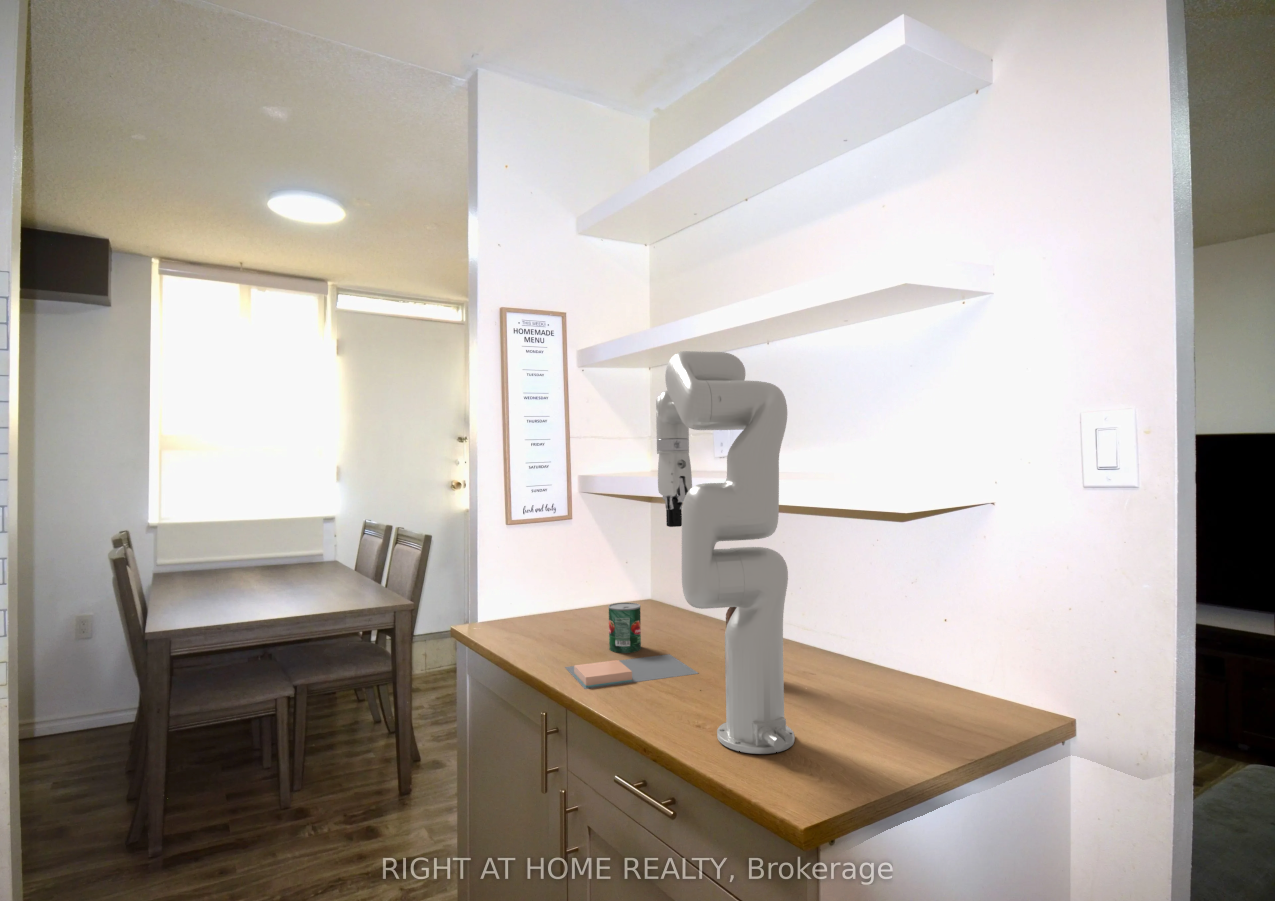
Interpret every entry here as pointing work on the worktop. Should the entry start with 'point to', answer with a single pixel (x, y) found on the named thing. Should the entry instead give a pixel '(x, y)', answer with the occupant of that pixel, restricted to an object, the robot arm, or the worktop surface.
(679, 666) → the mat
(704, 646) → the worktop surface
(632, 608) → the canned tomato
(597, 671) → the tile
